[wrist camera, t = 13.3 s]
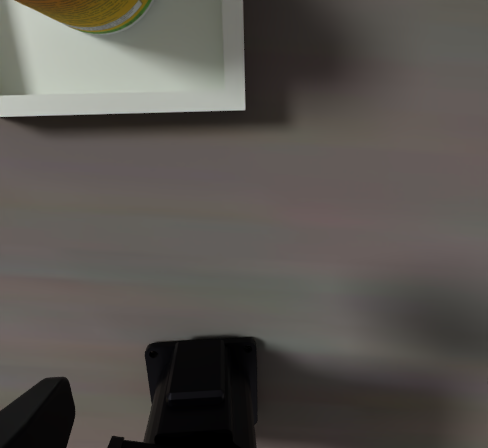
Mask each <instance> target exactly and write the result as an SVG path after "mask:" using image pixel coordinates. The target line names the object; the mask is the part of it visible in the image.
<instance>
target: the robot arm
mask: <svg viewBox="0 0 488 448" xmlns="http://www.w3.org/2000/svg"><path fill="white" fill-rule="evenodd" d="M247 345H248V346H251V347H250V348H245V346H247ZM151 351H156V352H157V353H156V354H155V353H152V352H151ZM145 359H146V366H147V373H148V381H149V388H150V395H151V402H152V407H151V411H150V416H149V420H148V424H147V429H146V433H145V437H144V442H137V441H129V440H124V437H117V436H112V438H111V440H110V443H109V445H108V448H256V438H255V428H254V425H255V424H256V423H257V358H256V343H255V341H254V340H253V339H251V338H233V339H210V340H192V341H179V342H162V343H152V344H149V345H148V346H147V348H146V351H145ZM74 419H75V405H74V401H73V396H72V392H71V388H70V384H69V381H68V379H67V378H66V377H50V378H45V379H43V380H41V381H40V382H39V383H37V384H36V385H35V386H33V387H32V388H31V389H29V390H28V391H27V392H25V393H24V394H23V395H21V396H20V397H19V398H17V399H16V400H14V401H13V402H12V403H10V404H9V405H8V406H6V407H5V408H4V409H2V410H1V411H0V448H66V447H67V443H68V440H69V436H70V433H71V430H72V426H73V423H74Z"/></svg>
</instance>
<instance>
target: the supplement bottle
mask: <svg viewBox="0 0 488 448" xmlns="http://www.w3.org/2000/svg"><path fill="white" fill-rule="evenodd" d="M14 1H17V2H19V3H21V4H23V5H25V6H27V7H29V8H31V9H34V10H36V11H38V12H40V13H42V14H44V15H46V16H48V17H50V18H52V19H54V20H56V21H58V22H60V23H62V24H64V25H66V26H68V27H70V28H73V29H75V30H78V31H81V32H84V33H88V34H94V35H108V34H114V33H118V32H121V31H124V30H126V29H128V28H130V27H131V26H133V25H134V24H136V23H137V22H138V21H139V20H140V19H141V18H142V17H143V16H144V15H145V14H146V13H147V11H148V10H149V9H150V7H151V5H152V3H153V2H154V0H14Z"/></svg>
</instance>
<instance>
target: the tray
mask: <svg viewBox="0 0 488 448" xmlns="http://www.w3.org/2000/svg"><path fill="white" fill-rule="evenodd" d="M235 110H245V69H244V24H243V0H154V2H153V3H152V5H151V7H150V9H149V10H148V11H147V13H146V14H145V15H144V16H143V17H142V18H141V19H140V20H139V21H138V22H137V23H136V24H134V25H133V26H131V27H130V28H128V29H126V30H124V31H121V32H118V33H114V34H108V35H94V34H88V33H84V32H81V31H78V30H75V29H73V28H70V27H68V26H66V25H64V24H62V23H60V22H58V21H56V20H54V19H52V18H50V17H48V16H46V15H44V14H42V13H40V12H38V11H36V10H34V9H31V8H29V7H27V6H25V5H23V4H21V3H19V2H17V1H14V0H0V117H14V116H51V115H88V114H125V113H161V112H198V111H235Z"/></svg>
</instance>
